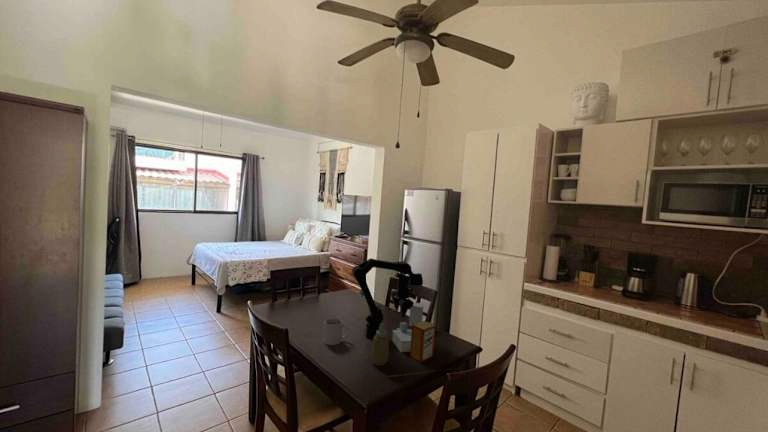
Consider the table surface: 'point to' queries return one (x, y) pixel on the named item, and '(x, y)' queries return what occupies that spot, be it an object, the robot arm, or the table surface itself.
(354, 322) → the table surface
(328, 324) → the mug
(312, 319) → the table surface
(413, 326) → the baking soda box
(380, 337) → the squeeze bottle
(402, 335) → the lid
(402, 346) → the tub
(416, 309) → the supplement box
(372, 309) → the robot arm
